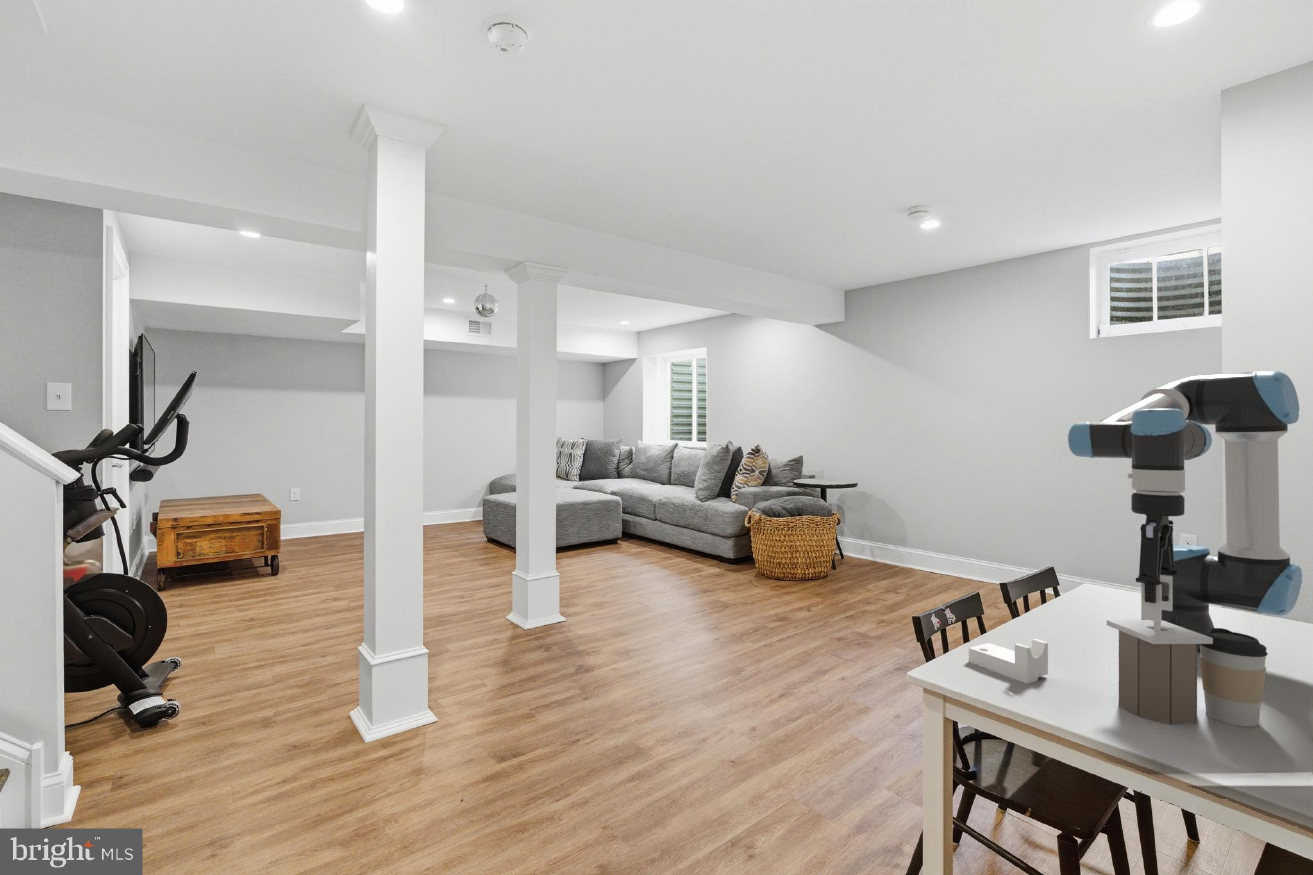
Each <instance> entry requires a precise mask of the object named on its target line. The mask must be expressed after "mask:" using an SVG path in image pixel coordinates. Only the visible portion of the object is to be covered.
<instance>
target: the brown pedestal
mask: <svg viewBox="0 0 1313 875" xmlns="http://www.w3.org/2000/svg"><path fill="white" fill-rule="evenodd" d="M1106 626H1108V627H1110V628H1113V629H1115V630H1117V631H1118V706H1119V707H1121V708H1123V709H1125V710H1126V711H1129V713H1132V714H1134V715H1135V716H1138V717H1140V718H1144V719H1148V720H1153V721H1155V722H1156V721H1157V722H1159V723H1164V724H1168V725H1197V719H1198V650H1197V644H1213V638H1211V637H1208V636H1205V635H1203V634H1200V633H1197V632H1194V631H1191V630H1188V629H1186V628H1183V627H1180V626H1177V625H1174V624H1171V623H1169V622H1166V621H1163V620H1162V621H1161V631H1156V630H1154V621H1151V620H1141V619H1106Z"/></svg>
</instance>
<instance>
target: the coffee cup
mask: <svg viewBox="0 0 1313 875" xmlns="http://www.w3.org/2000/svg"><path fill="white" fill-rule="evenodd" d="M1205 636H1208V637H1211V638H1213V644H1200V650H1199V652H1200V655H1199V662H1200V674H1201V683H1202V684H1201V685H1202V690H1203V694H1204V704H1205V712H1206V715H1207V716H1209V717H1211V718H1213V719H1214V720H1218V721H1221V722H1222V723H1227V724H1230V725H1235V726H1242V727H1257V726H1259V724H1260V717H1261V716H1260V714H1261V708H1262V707H1261V706H1262V705H1261V704H1262V702H1263V698H1264V691H1265V690H1264V689H1265V681H1266V672H1267V671H1266V670H1267V667H1266V659H1267V656H1268V655H1269V654H1268V652H1267V647H1266V646H1265V644H1262V643H1260V641H1259V640H1258V638H1256V637H1254V636H1251V635H1249V634H1244V633H1240V632H1234V631H1232V630H1229V629H1226V628H1220V627H1214V628H1213V629H1211V630H1210V631H1207V632H1206V634H1205Z"/></svg>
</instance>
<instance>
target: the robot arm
mask: <svg viewBox="0 0 1313 875" xmlns="http://www.w3.org/2000/svg"><path fill="white" fill-rule="evenodd" d="M1299 412H1300V403H1299V397H1298V394H1297V390H1296V388H1295V385H1294V382H1293V380H1292V379H1291V378H1290V376H1288V375H1287V374H1286V373H1284V372H1282V371H1277V370H1275V371H1274V370H1273V371H1269V370H1268V371H1266V370H1265V371H1261V370H1260V371H1257V370H1256V371H1255V370H1254V371H1248V372H1235V373H1234V372H1233V373H1221V374H1220V373H1218V374H1210V375H1205V374H1204V375H1194V376H1189V377H1185V378H1181V379H1178V380H1174V381H1172V382H1167V383H1165V384H1163V385H1161V386H1158V387H1155V388H1153V389H1152V390H1149V391H1148V392H1146V393H1145V394H1143V396H1142V397H1141V399H1140V400H1139V401H1137V402H1135V403H1134V404H1131V405H1130V406H1128V407H1125V408H1123V409H1122V410H1119V411H1118V412H1115V413H1114V414H1111V415H1109V416H1108V417H1105V418H1103V419H1101V420H1099V421H1085V422H1076V423H1074V424H1073V425H1072V426H1071V427H1070V429H1069V430H1068V435H1067V441H1068V442H1067V443H1068V448H1069V450H1070V452H1071V453H1072V454H1073V455H1074V456H1076V457H1081V458H1082V457H1083V458H1090V459H1093V458H1095V459H1096V458H1101V459H1103V458H1104V459H1106V458H1107V459H1131V473H1128V475H1127V478H1128V479H1131V489H1132V490H1133V491H1135V492H1133V493H1131V504H1130V505H1131V508H1130V509H1131V511H1132V513H1134V514H1139V515H1145V516H1146V518H1145V523H1142V524H1141V526H1140V549H1139V550H1140V553H1139V567H1138V568H1139V569H1138V577H1135V582H1136V583H1141V586H1140V588H1141V589H1140V590H1141V592H1140V594H1141V595H1140V596H1141V603H1140V604H1141V606H1140V607H1141V608H1140V612H1141V615H1140V616H1141V618H1140V620H1151V621H1156V622H1161V621H1162V620H1163V621H1166V622H1169V623H1171V624H1174V625H1177V626H1180V627H1183V628H1186V629H1188V630H1191V631H1194V632H1197V633H1200V634H1203V635H1205V634H1206V632H1207V631H1210V630H1211V629H1213V628H1215V625H1214V622H1213V620H1212V618H1211V616H1210V605H1215V606H1221V607H1225V608H1232V609H1238V610H1243V611H1247V612H1248V611H1249V612H1253V613H1256V614H1260V615H1261V614H1265V615H1271V616H1277V617H1279V616H1281V617H1282V616H1286V615H1288V614H1290V613H1291V612H1292V610H1293V609H1294V608H1295V606H1296V603H1297V601H1298V599H1299V596H1300V593H1301V588H1302V581H1303V574H1302V568H1301V566H1299V565H1296V564H1295V563H1291V556H1290V554H1289V553H1288V552H1287V551H1286V550H1284V549H1283V548H1281V545H1280V540H1281V539H1280V536H1281V535H1280V534H1281V533H1280V487H1279V486H1280V482H1279V481H1280V480H1279V477H1280V476H1279V440H1280V438H1281V437H1283V436H1284V435H1285V434H1287V433H1288V431H1289V430H1288V428H1289V426H1288V425H1291V424H1296V423H1297V422H1298V421H1299V417H1300V413H1299ZM1204 425H1205V426H1204ZM1207 425H1209V426H1210V425H1212V426H1213V425H1214V427H1215V434H1216V435H1218V436H1219V437H1220V438H1222V439H1223V440H1224V468H1225V469H1224V473H1225V474H1224V476H1225V477H1224V479H1225V519H1226V520H1225V522H1226V524H1225V525H1226V527H1225V528H1226V531H1225V532H1226V543H1224V544H1223V545H1222V546H1220V547H1219V548H1218V549H1217V554H1211V550H1210V549H1209V548H1208V547H1207V546H1200V545H1199V546H1198V545H1174V535H1173V534H1174V533H1173V531H1174V521H1173V519H1170V518H1169V517H1180V516H1184V515H1185V497H1184V496H1183V495H1182V494H1181V493H1184V492H1185V491H1186V470H1185V461H1190V460H1192V459H1196V458H1199V457H1201V456H1203V455H1204V454H1206V453H1207V452H1208V451H1209V450H1210V449H1211V447H1212V444H1213V443H1212V442H1213V438H1212V434H1211V432H1210V430H1208V428H1207V427H1206V426H1207ZM1160 581H1162V582H1167V583H1169V601H1162V585H1160ZM1197 651H1200V644H1197Z"/></svg>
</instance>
